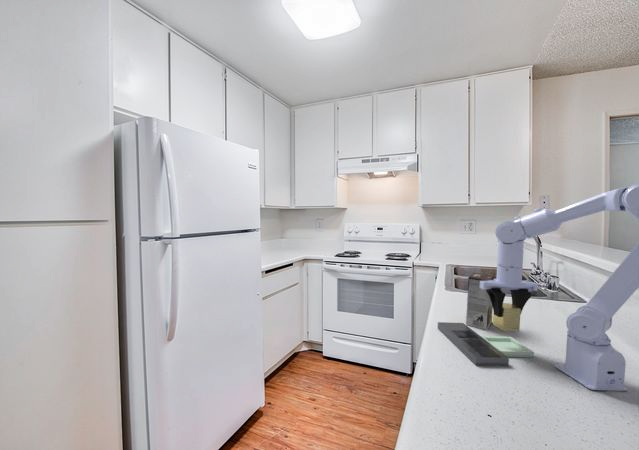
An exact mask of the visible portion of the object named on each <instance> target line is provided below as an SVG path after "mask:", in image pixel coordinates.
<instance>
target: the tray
mask: <svg viewBox="0 0 639 450" xmlns="http://www.w3.org/2000/svg"><path fill="white" fill-rule="evenodd" d="M480 336H481V337H482V338H484V339H485V340H486V341H488V342H489V343H490V344H491V345H493V346H494V347H495V348H497V349H498V350H499V351H501V352H502V353H503V354H505V355H506V356H507V357H509V358H534V357H535V351H533V350H532V349H530V348H529V347H528V346H526V345H524V344H522V343H521V342H520V341H518V340H516V339H515V338H513V337H512V336H489V335H488V336H484V335H483V336H482V335H480Z"/></svg>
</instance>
